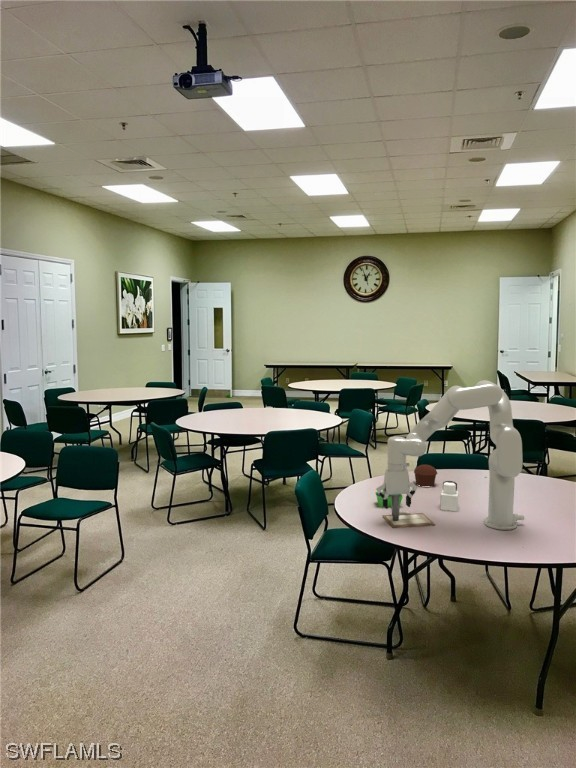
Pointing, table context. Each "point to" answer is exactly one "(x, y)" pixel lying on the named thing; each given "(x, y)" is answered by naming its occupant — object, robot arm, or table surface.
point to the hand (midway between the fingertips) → (396, 506)
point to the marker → (395, 507)
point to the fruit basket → (380, 499)
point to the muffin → (425, 475)
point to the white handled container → (449, 496)
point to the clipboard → (409, 520)
